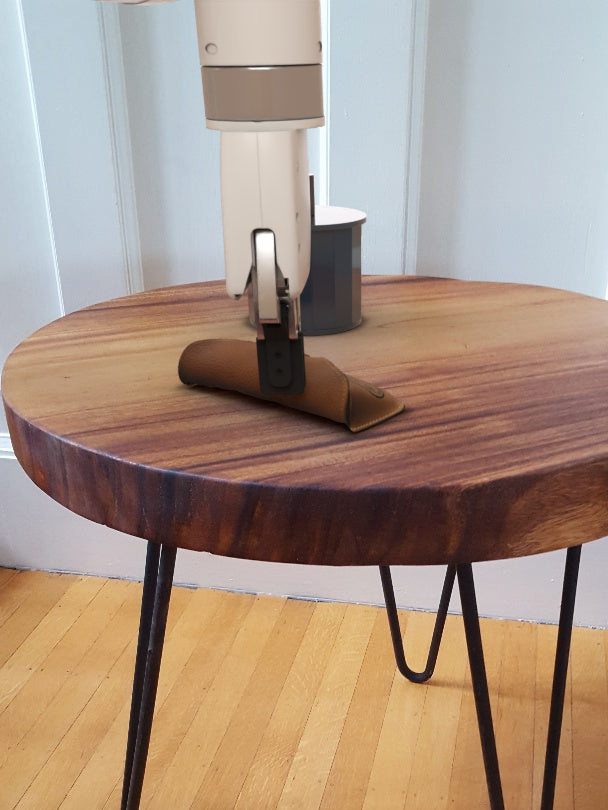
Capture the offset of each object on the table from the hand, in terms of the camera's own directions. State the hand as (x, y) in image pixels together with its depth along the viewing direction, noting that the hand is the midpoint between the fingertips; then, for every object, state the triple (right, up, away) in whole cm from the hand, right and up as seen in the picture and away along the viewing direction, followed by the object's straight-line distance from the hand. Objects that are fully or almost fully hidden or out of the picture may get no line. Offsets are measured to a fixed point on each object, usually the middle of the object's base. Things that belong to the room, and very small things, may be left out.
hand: (283, 390), depth 70 cm
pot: (0, +15, +28) cm, 32 cm away
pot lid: (0, +23, +23) cm, 33 cm away
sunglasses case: (0, +1, +8) cm, 8 cm away
